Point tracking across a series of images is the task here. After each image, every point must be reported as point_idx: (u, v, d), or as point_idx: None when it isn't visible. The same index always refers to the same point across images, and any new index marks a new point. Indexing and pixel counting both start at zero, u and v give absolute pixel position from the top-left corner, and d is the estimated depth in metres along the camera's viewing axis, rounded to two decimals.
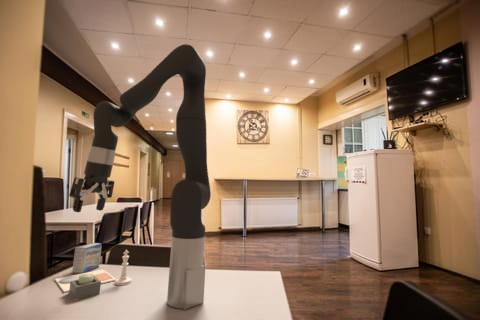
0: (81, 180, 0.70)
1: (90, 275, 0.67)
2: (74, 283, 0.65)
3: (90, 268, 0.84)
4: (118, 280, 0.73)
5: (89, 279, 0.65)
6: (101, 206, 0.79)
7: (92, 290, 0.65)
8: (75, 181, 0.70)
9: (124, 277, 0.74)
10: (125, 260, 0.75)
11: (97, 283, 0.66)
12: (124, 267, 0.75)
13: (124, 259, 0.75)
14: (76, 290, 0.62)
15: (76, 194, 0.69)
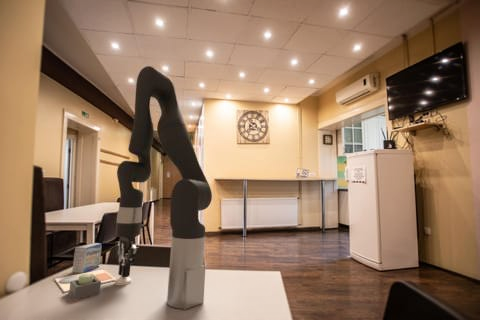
0: None
1: (90, 275, 0.67)
2: (74, 283, 0.65)
3: (90, 268, 0.84)
4: (118, 280, 0.73)
5: (89, 279, 0.65)
6: None
7: (92, 290, 0.65)
8: (133, 252, 0.72)
9: None
10: None
11: (97, 283, 0.66)
12: None
13: None
14: (76, 290, 0.62)
15: None
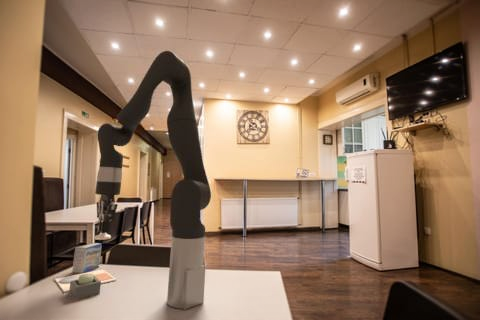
0: None
1: (90, 275, 0.67)
2: (74, 283, 0.65)
3: (90, 268, 0.84)
4: (97, 235, 0.77)
5: (89, 279, 0.65)
6: None
7: (92, 290, 0.65)
8: (111, 208, 0.75)
9: (103, 233, 0.78)
10: None
11: (97, 283, 0.66)
12: None
13: None
14: (76, 290, 0.62)
15: None
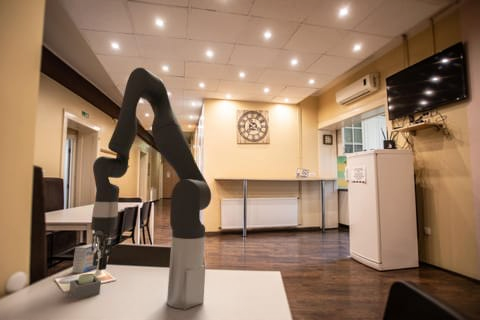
0: None
1: (90, 275, 0.67)
2: (74, 283, 0.65)
3: (90, 268, 0.84)
4: None
5: (89, 279, 0.65)
6: None
7: (92, 290, 0.65)
8: (108, 243, 0.73)
9: (99, 272, 0.76)
10: None
11: (97, 283, 0.66)
12: None
13: None
14: (76, 290, 0.62)
15: (110, 252, 0.75)
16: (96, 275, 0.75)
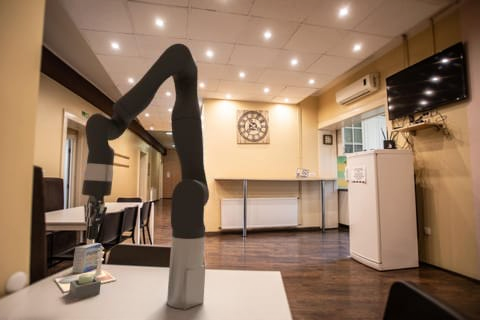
0: None
1: (90, 275, 0.67)
2: (74, 283, 0.65)
3: (90, 268, 0.84)
4: None
5: (89, 279, 0.65)
6: None
7: (92, 290, 0.65)
8: (99, 212, 0.65)
9: (99, 272, 0.76)
10: (100, 256, 0.77)
11: (97, 283, 0.66)
12: (99, 263, 0.76)
13: (99, 255, 0.76)
14: (76, 290, 0.62)
15: None
16: (96, 275, 0.75)
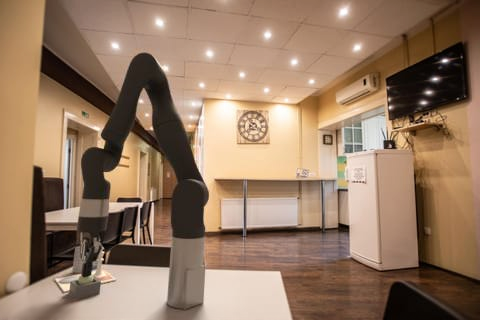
0: None
1: None
2: (74, 283, 0.65)
3: None
4: None
5: (89, 280, 0.65)
6: None
7: (92, 290, 0.65)
8: (94, 251, 0.64)
9: (99, 272, 0.76)
10: (100, 256, 0.77)
11: (97, 283, 0.66)
12: (99, 263, 0.76)
13: (99, 255, 0.76)
14: (76, 290, 0.62)
15: None
16: (96, 275, 0.75)
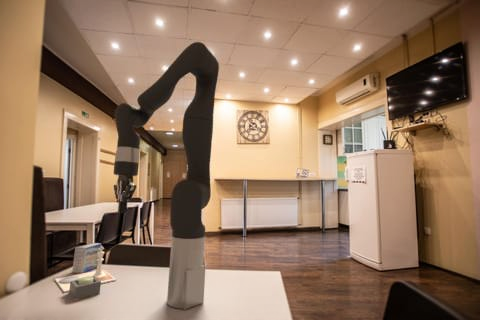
0: None
1: (90, 278, 0.67)
2: (74, 283, 0.65)
3: (90, 268, 0.84)
4: (93, 275, 0.75)
5: None
6: None
7: (92, 290, 0.65)
8: (130, 189, 0.74)
9: (99, 272, 0.76)
10: (100, 256, 0.77)
11: (97, 283, 0.66)
12: (99, 263, 0.76)
13: (99, 255, 0.76)
14: (76, 290, 0.62)
15: None
16: (96, 275, 0.75)
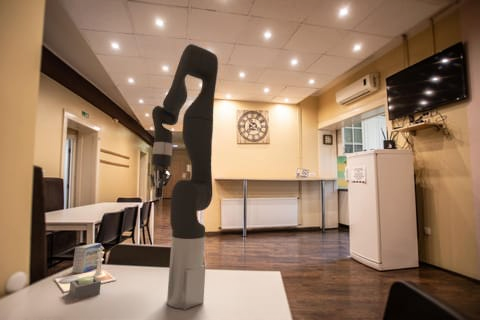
0: None
1: (90, 278, 0.67)
2: (74, 283, 0.65)
3: (90, 268, 0.84)
4: (93, 275, 0.75)
5: None
6: None
7: (92, 290, 0.65)
8: (166, 177, 0.89)
9: (99, 272, 0.76)
10: (100, 256, 0.77)
11: (97, 283, 0.66)
12: (99, 263, 0.76)
13: (99, 255, 0.76)
14: (76, 290, 0.62)
15: None
16: (96, 275, 0.75)
